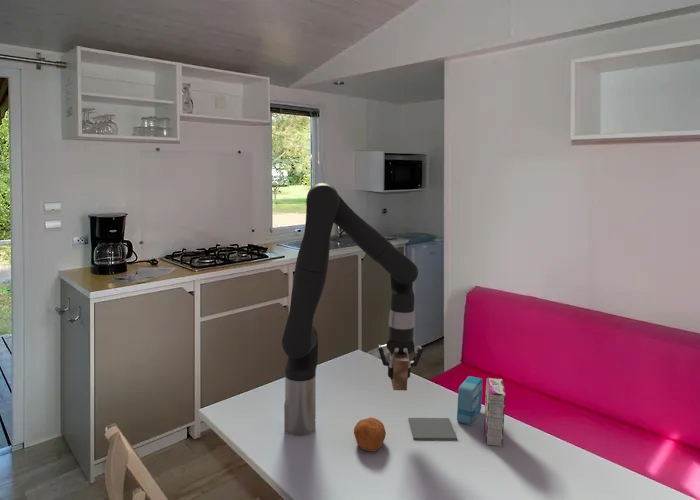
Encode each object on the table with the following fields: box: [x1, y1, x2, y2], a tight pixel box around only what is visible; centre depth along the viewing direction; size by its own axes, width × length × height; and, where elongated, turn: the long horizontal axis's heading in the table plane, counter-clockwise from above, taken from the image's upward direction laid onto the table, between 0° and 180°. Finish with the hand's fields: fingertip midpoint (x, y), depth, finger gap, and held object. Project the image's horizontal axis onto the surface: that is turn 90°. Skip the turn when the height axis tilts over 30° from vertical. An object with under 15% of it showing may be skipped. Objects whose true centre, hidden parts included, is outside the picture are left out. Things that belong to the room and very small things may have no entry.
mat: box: [408, 417, 458, 441], centre depth 157 cm, size 13×12×1 cm
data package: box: [456, 375, 484, 426], centre depth 164 cm, size 12×4×12 cm, turn 150°
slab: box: [390, 354, 410, 391], centre depth 154 cm, size 4×9×10 cm, turn 1°
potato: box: [353, 417, 387, 452], centre depth 147 cm, size 9×11×8 cm
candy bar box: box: [483, 377, 506, 448], centre depth 152 cm, size 11×5×16 cm, turn 168°
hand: (398, 378), depth 154 cm, fingers closed on slab, 4 cm apart
